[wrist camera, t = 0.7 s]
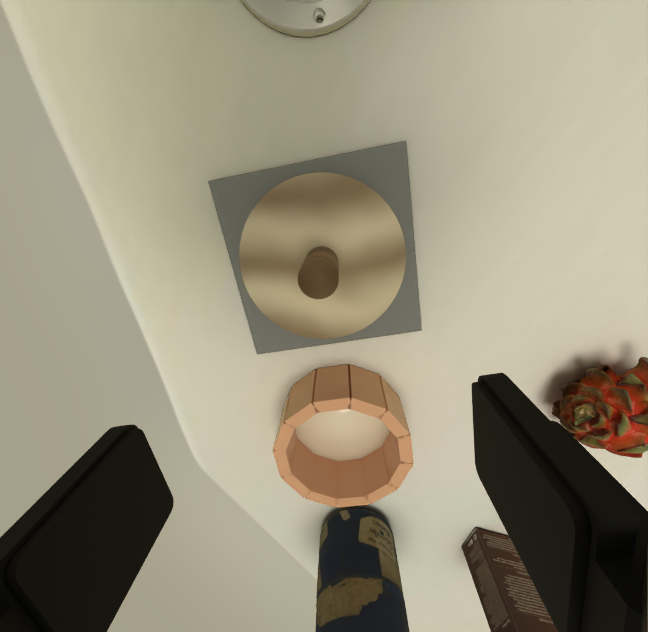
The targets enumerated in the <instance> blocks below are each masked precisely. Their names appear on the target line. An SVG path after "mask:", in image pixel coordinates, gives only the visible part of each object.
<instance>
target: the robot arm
mask: <svg viewBox="0 0 648 632" xmlns="http://www.w3.org/2000/svg"><path fill="white" fill-rule="evenodd" d="M241 1H242V2H243V3H244V4H245V6H246V7H247V8H248V9H249V10H250V12H252V13H253V14H254V15H255V16H256V17H257V18H258V19H260V20H261V21H262V22H263V23H265V24H266V25H268V26H270V27H272V28H274V29H275V30H277V31H279V32H283V33H286V34H289V35H293V36H304V37H312V36H317V35H323V34H327V33H329V32H331V31H334V30H336V29H338V28H341V27H342V26H344V25H345V24H346V23H348V22H349V21H351V20H352V19H353V18H355V17H356V16H357V15H358V14H359V13H360V12H361V11H362V10H363V9H364V7H365V6H366V5H367V4H368V3H369V2H370V0H241ZM318 18H322V19H323V22H322V23H317V22H316V21H317V19H318ZM472 405H473V427H474V449H475V465H476V469H477V473H478V475H479V478H480V480H481V482H482V484H483V486H484V488H485V490H486V492H487V494H488V496H489V497H490V499H491V501H492V503H493V505H494V507H495V509H496V511H497V513H498V515H499V517H500V519H501V521H502V523H503V525H504V527H505V529H506V531H507V533H508V535H509V537H510V539H511V541H512V543H513V545H514V547H515V549H516V550H517V552H518V554H519V556H520V558H521V560H522V562H523V564H524V566H525V568H526V570H527V572H528V574H529V576H530V578H531V580H532V582H533V584H534V586H535V588H536V590H537V592H538V594H539V596H540V598H541V600H542V602H543V603H544V605H545V607H546V609H547V611H548V613H549V615H550V617H551V619H552V621H553V623H554V625H555V627H556V629H557V630H558V632H648V511H647V510H646V509H645V508H644V507H643V506H642V505H641V504H640V503H639V502H638V501H637V500H636V499H635V498H634V497H633V496H632V495H631V494H630V493H629V492H628V491H627V490H626V489H625V488H624V487H623V486H622V485H621V484H620V483H619V482H618V481H617V480H616V479H615V478H614V477H613V476H612V475H611V474H610V473H609V472H608V471H607V470H606V469H605V468H604V467H603V466H602V465H601V464H600V463H599V462H598V461H597V460H596V459H595V458H594V457H593V456H592V455H591V454H590V453H589V452H588V451H587V450H586V449H585V448H584V447H583V446H582V445H581V444H580V443H579V442H578V441H577V440H576V439H575V438H574V437H573V436H572V435H571V434H570V433H569V432H568V431H567V430H566V429H565V428H564V427H563V426H562V425H560V424H559V423H558V422H555V421H550V420H549V419H548V418H547V417H546V416H545V415H544V414H543V413H542V412H541V411H540V410H539V409H538V408H537V407H536V406H535V405H534V404H533V403H532V402H531V400H530V399H529V398H528V397H527V396H526V395H525V394H524V393H523V392H522V391H521V390H520V389H519V388H518V387H517V386H516V385H515V384H514V383H513V382H512V381H511V380H510V379H509V378H508V377H507V376H506V375H505V374H504V373H497V374H490V375H483V376H479V378H478V382H474V383H472ZM172 508H173V497H172V494H171V492H170V490H169V487H168V485H167V483H166V481H165V479H164V476H163V474H162V472H161V470H160V468H159V465H158V463H157V461H156V459H155V457H154V454H153V452H152V450H151V448H150V446H149V443H148V441H147V439H146V437H145V435H144V433H143V431H142V430H141V429H138V427H137V426H135V425H125V426H117V427H113V428H110V429H109V430H108V431H107V432H106V433H105V434H104V435H103V436H102V437H101V438H100V439H99V440H98V441H97V442H96V443H95V444H94V445H93V446H92V447H91V448H90V449H89V450H88V451H87V452H86V453H85V454H84V455H83V456H82V457H81V458H80V459H79V460H78V461H77V462H76V463H75V464H74V465H73V466H72V467H71V468H70V469H69V470H68V471H67V472H66V473H65V474H64V475H63V476H62V477H61V478H60V479H59V480H58V481H57V482H56V483H55V484H54V485H53V486H52V487H51V488H50V489H49V490H48V491H47V492H46V493H45V494H44V495H43V496H42V497H41V498H40V499H39V500H38V501H37V502H36V503H35V504H34V505H33V506H32V507H31V508H30V509H29V510H28V511H27V512H26V513H25V514H24V515H23V516H22V517H21V518H20V519H19V520H18V521H17V522H16V523H15V524H14V525H13V526H12V527H11V528H10V529H9V530H8V531H7V532H6V533H5V534H4V535H3V536H2V537H1V538H0V632H107V630H108V628H109V626H110V624H111V623H112V621H113V619H114V617H115V615H116V613H117V612H118V610H119V608H120V606H121V604H122V602H123V600H124V599H125V597H126V595H127V593H128V591H129V589H130V587H131V586H132V584H133V582H134V580H135V578H136V576H137V574H138V572H139V571H140V569H141V567H142V565H143V563H144V561H145V559H146V558H147V556H148V554H149V552H150V550H151V548H152V546H153V545H154V543H155V540H156V539H157V537H158V535H159V533H160V531H161V530H162V528H163V526H164V524H165V522H166V520H167V519H168V516H169V515H170V513H171V510H172Z"/></svg>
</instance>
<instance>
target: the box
mask: <svg viewBox="0 0 648 632" xmlns="http://www.w3.org/2000/svg"><path fill="white" fill-rule="evenodd" d="M462 549H463V552H464V555H465V558H466V561H467V563H468V566H469V569H470V572H471V575H472V578H473V581H474V584H475V587H476V589H477V592H478V595H479V598H480V601H481V604H482V607H483V610H484V612H485V615H486V618H487V621H488V624H489V627H490V630H491V632H558V630H557V629H556V627H555V625H554V623H553V621H552V619H551V617H550V615H549V613H548V611H547V609H546V607H545V605H544V603H543V602H542V600H541V598H540V596H539V594H538V592H537V590H536V588H535V586H534V584H533V582H532V580H531V578H530V576H529V574H528V572H527V570H526V568H525V566H524V564H523V562H522V560H521V558H520V556H519V554H518V552H517V550H516V549H515V547H514V545H513V543H512V541H511V539H510V537H507V536H503V535H500V534H496V533H492V532H489V531H485V530H481V529H478V528H475V529H474V530H473V531H472V533H471V534H470V535H469V537H468V538H467V540H466V542H465V543H464V544H463V546H462Z"/></svg>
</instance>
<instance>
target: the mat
mask: <svg viewBox="0 0 648 632" xmlns="http://www.w3.org/2000/svg"><path fill="white" fill-rule="evenodd" d="M316 172H326V173H335V174H341V175H344V176H348V177H351V178H353V179H356V180H358V181H360V182H362V183H364V184H365V185H367V186H368V187H370V188H371V189H373V190H374V191H375V192H376V193H377V194H379V195H380V196H381V197H382V198H383V199H384V201H385V202H386V203H387V204H388V205H389V206H390V208H391V209H392V211H393V213H394V214H395V216H396V218H397V220H398V222H399V224H400V226H401V230H402V233H403V236H404V241H405V247H406V264H405V272H404V276H403V280H402V283H401V286H400V288H399V291H398V293H397V295H396V297H395V298H394V300H393V302H392V303H391V304H390V306H389V307H388V309H387V310H386V311H385V312H384V313H383V314H382V315H381V316H380V317H379V318H378V319H377V320H375V321H374V322H373V323H372V324H370V325H368V326H367V327H365V328H364V329H362V330H360V331H357V332H355V333H353V334H350V335H347V336H343V337H338V338H330V339H315V338H309V337H304V336H300V335H297V334H294V333H292V332H289V331H287V330H285V329H283V328H281V327H280V326H278V325H276V324H275V323H274V322H272V321H271V320H270V319H269V318H267V317H266V316H265V315H264V314H263V313H262V312H261V311H260V309H259V308H258V307H257V306H256V304H255V303H254V301H253V300H252V298H251V297H250V295H249V293H248V291H247V289H246V287H245V284H244V281H243V278H242V274H241V269H240V261H239V249H240V241H241V235H242V232H243V229H244V226H245V223H246V221H247V219H248V217H249V215H250V213H251V211H252V210H253V209H254V207H255V206H256V204H257V203H258V202H259V201H260V200H261V198H262V197H263V196H264V195H265V194H267V193H268V192H269V191H270V190H271V189H273V188H274V187H276V186H277V185H279V184H280V183H282V182H284V181H286V180H288V179H291V178H293V177H296V176H299V175H303V174H308V173H316ZM208 182H209V186H210V189H211V193H212V196H213V200H214V203H215V207H216V211H217V214H218V218H219V221H220V225H221V228H222V232H223V235H224V239H225V242H226V246H227V250H228V253H229V257H230V260H231V264H232V267H233V271H234V274H235V278H236V281H237V285H238V289H239V292H240V296H241V299H242V303H243V306H244V310H245V313H246V317H247V320H248V324H249V328H250V331H251V335H252V338H253V342H254V345H255V349H256V352H257V354H263V353H270V352H277V351H284V350H291V349H298V348H305V347H311V346H318V345H325V344H332V343H339V342H346V341H353V340H360V339H367V338H373V337H380V336H387V335H394V334H401V333H408V332H415V331H422V329H421V316H420V304H419V292H418V279H417V267H416V254H415V242H414V230H413V217H412V205H411V193H410V180H409V168H408V156H407V143H406V141H403V142H398V143H393V144H389V145H384V146H379V147H374V148H369V149H364V150H359V151H354V152H349V153H345V154H340V155H335V156H330V157H325V158H320V159H315V160H310V161H305V162H301V163H296V164H291V165H286V166H281V167H276V168H271V169H266V170H261V171H257V172H252V173H247V174H242V175H237V176H232V177H227V178H222V179H217V180H213V181H208Z"/></svg>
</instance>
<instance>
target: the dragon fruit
mask: <svg viewBox="0 0 648 632" xmlns="http://www.w3.org/2000/svg"><path fill="white" fill-rule="evenodd" d="M585 371H586V373H587V374H586V376H585V378H584V379H579V380H577V381H575V382H574V383H568V384H565V385H564V386H563V387H562V388H561V389H562V393H563V395H562V397H563V399H561V400H559V401H556V402H555V403H553V404H554V406H553V411H552V414H553V415H554V416H556V417H557V418H559V419H560V423H561V424H562V426H563V427H565V428H566V430H567V431H568V432H569V433H570V434H571V435H572V436H573V437H574V438H575V439H576V440H577V441H579V442H581V443H582V444H584V445H586V446H588V447H591V448H597V449H599V448H600V449H606V450H607V451H609V452H611V453H614V454H617V455H621V456H628V457H633V458H641V457H642V453H643V452H645V451H647V450H648V358H646V357H641V358H640V359H639V362H638V365H637V366H636V367H634V368H632V369H630V370H629V371H628V372H626V373H625V374H624V375H619V376H617V375H616V373H615V372H614V371H613V370H612V369H611V368H610V367H609V366H608V365H601V366H599V367H598V368H590V369H587V370H585Z"/></svg>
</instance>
